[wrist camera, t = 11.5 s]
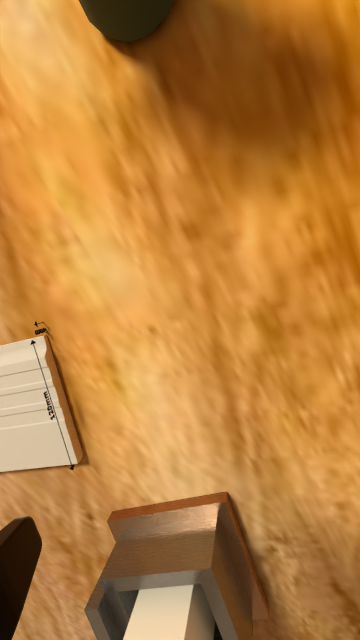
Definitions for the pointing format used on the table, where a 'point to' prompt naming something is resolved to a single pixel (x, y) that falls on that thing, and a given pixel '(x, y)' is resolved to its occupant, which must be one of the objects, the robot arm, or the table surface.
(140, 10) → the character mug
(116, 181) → the table surface
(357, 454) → the table surface
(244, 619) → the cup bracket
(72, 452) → the baseboard molding
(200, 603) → the cream rectangular block
